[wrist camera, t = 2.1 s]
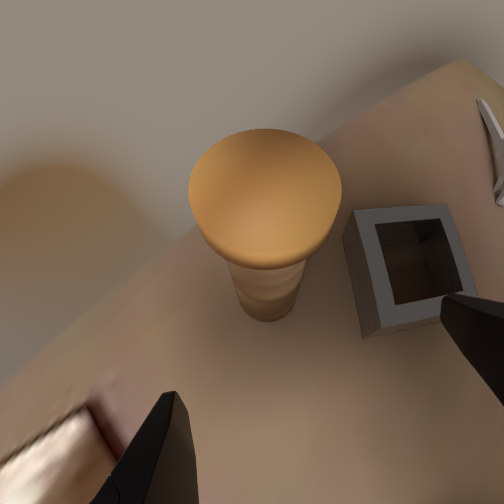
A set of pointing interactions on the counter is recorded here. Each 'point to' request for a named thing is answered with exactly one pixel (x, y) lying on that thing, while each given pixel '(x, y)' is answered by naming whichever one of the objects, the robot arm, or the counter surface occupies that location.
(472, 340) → the robot arm
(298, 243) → the pin
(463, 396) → the counter surface
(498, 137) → the caliper
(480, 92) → the counter surface
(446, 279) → the socket block
